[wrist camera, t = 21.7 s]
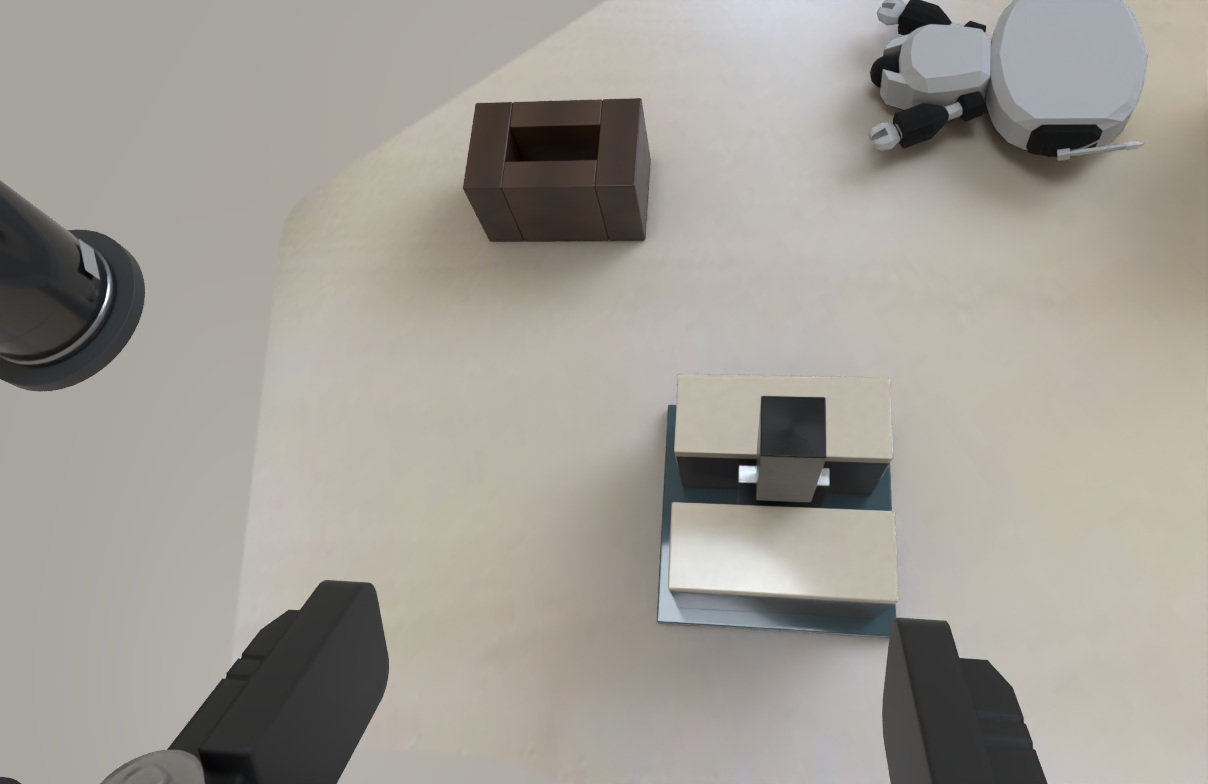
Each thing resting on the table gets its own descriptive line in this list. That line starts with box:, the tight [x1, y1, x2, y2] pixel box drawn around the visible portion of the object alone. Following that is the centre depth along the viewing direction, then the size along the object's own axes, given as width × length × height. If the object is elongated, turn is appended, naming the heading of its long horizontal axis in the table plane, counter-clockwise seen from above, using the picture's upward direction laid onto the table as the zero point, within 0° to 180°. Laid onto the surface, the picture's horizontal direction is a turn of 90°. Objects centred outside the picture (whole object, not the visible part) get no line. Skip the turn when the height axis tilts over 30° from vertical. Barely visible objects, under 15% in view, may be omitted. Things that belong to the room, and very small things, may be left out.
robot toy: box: [869, 0, 1148, 161], centre depth 53 cm, size 12×4×15 cm
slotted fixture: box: [657, 374, 899, 638], centre depth 44 cm, size 12×12×8 cm
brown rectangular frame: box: [463, 98, 651, 241], centre depth 54 cm, size 10×6×6 cm, turn 86°
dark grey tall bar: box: [738, 396, 830, 508], centre depth 40 cm, size 4×2×15 cm, turn 86°
